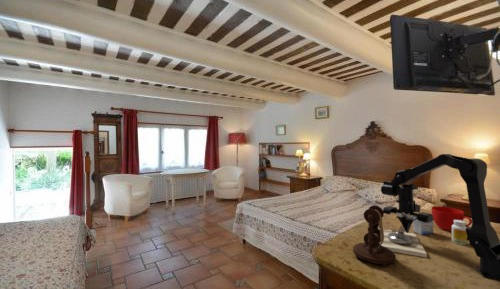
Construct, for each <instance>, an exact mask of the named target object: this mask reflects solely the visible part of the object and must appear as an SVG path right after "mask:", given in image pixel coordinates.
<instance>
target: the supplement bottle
mask: <svg viewBox="0 0 500 289" xmlns="http://www.w3.org/2000/svg"><path fill="white" fill-rule="evenodd" d="M465 225H467V224H466V221H464V220H463V221H461V220H454V224H453V225H452V231H451V243H455V244H457V245H462V246H464V245H465V246H466V245H468V240H466V239H467V233H466V228H468V226H467V227H465Z"/></svg>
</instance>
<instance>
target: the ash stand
mask: <svg viewBox="0 0 500 289" xmlns="http://www.w3.org/2000/svg"><path fill="white" fill-rule="evenodd" d="M378 229H379V228H378ZM379 230H380V229H379ZM395 231H396V230H393V229H384V228H383V232H384V241H383V243H382V244H381V245H382V246H384V247H386V248H388V249H390V250H391V251H392V252H394V253H400V254H404V255H411V256H416V257H422V258H428V254H427V251H426V250H425V248H424V247H423V245H422V244H421V242H420V240H419V239H418V237H417V235H416V234H415V232H413V233H412V232H409V233H406V231H405V233H404V235H407V236H410V237H411V238H412V244H411V245H402V244H397V243H394V242H392V241H390V240H389V239H388V234H389V233H395ZM380 243H381V242H380Z"/></svg>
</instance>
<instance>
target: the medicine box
mask: <svg viewBox="0 0 500 289" xmlns="http://www.w3.org/2000/svg"><path fill="white" fill-rule="evenodd" d="M412 224H413V225H412V227H413V228H412V232H413V233H414V234H415V233H416V234H419V235H421V236H423V235H429V234H430V235H431V234H434V220H433V221H430V222H422V221H418V220H414V221H413V222H412Z"/></svg>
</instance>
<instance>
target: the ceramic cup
mask: <svg viewBox="0 0 500 289" xmlns="http://www.w3.org/2000/svg"><path fill="white" fill-rule="evenodd" d="M431 214H432V215H433V223H435V225H436V226H437V227H438V228H439V229H441V230H444V231H446V232H447V231H448V232H452V225H453V224H454V220H461V221H464V219H467V220H468V224H466V225H465V227H467V228H468V227H471V226H472V218H470V217H468V216H465V211H463V210H461V209H458V208H455V207H448V206H441V205H440V206H432V207H431Z"/></svg>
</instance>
